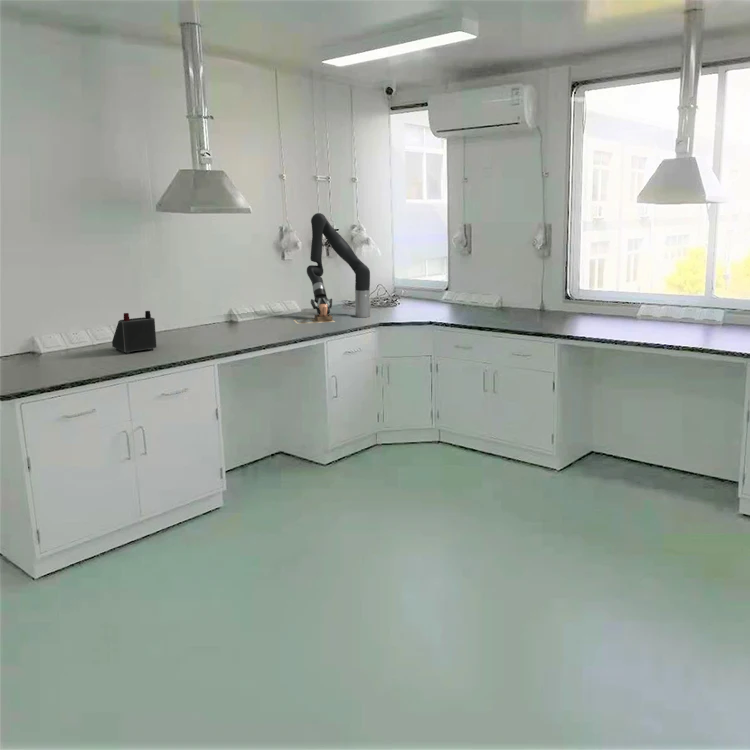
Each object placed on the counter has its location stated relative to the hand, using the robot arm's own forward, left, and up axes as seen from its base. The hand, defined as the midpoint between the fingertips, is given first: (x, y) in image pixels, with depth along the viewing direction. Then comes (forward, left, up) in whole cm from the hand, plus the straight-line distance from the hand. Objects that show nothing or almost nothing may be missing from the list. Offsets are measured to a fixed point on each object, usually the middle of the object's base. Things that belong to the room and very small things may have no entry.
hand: (324, 313), depth 426 cm
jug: (0, -1, -5) cm, 5 cm away
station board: (+6, -2, -6) cm, 8 cm away
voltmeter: (+110, +51, -6) cm, 122 cm away
